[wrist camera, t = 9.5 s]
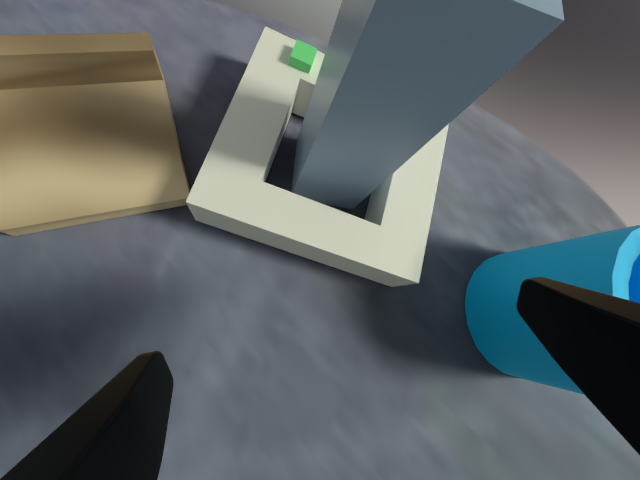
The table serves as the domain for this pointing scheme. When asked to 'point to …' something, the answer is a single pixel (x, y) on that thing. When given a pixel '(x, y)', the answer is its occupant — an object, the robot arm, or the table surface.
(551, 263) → the mug
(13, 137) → the tan base plate
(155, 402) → the robot arm
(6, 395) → the table surface
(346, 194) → the plug
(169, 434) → the table surface
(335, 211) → the block
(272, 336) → the table surface
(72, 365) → the table surface
